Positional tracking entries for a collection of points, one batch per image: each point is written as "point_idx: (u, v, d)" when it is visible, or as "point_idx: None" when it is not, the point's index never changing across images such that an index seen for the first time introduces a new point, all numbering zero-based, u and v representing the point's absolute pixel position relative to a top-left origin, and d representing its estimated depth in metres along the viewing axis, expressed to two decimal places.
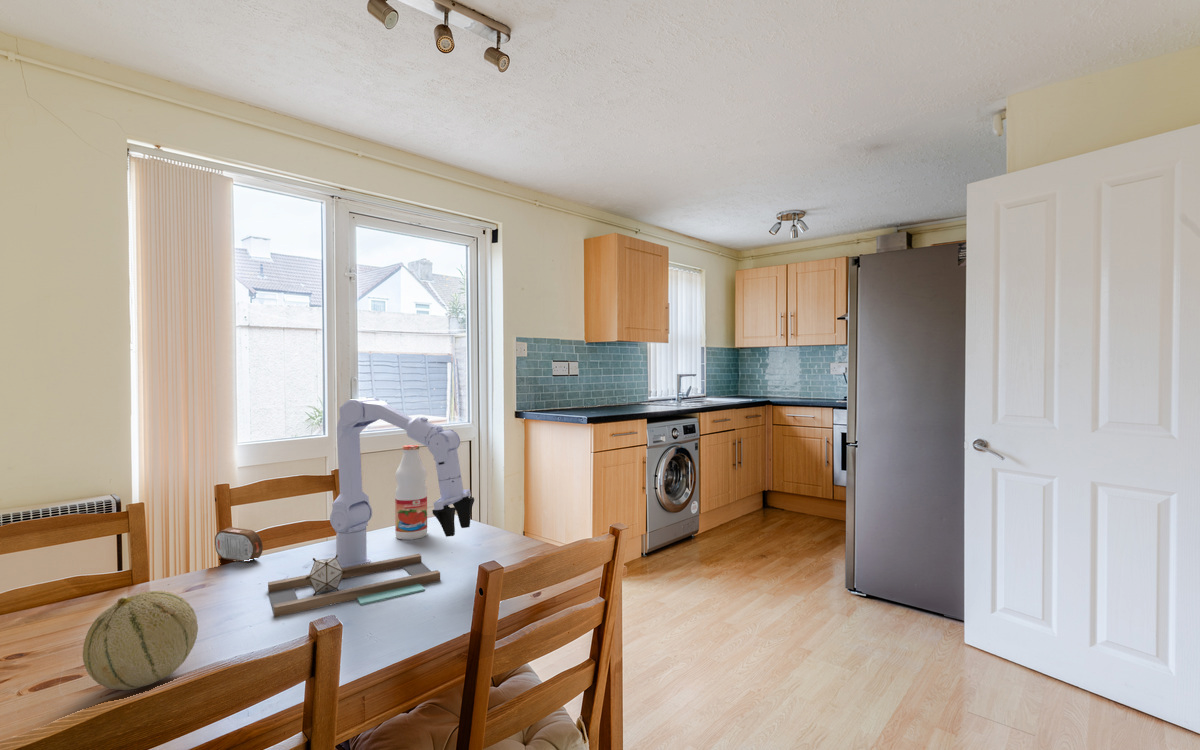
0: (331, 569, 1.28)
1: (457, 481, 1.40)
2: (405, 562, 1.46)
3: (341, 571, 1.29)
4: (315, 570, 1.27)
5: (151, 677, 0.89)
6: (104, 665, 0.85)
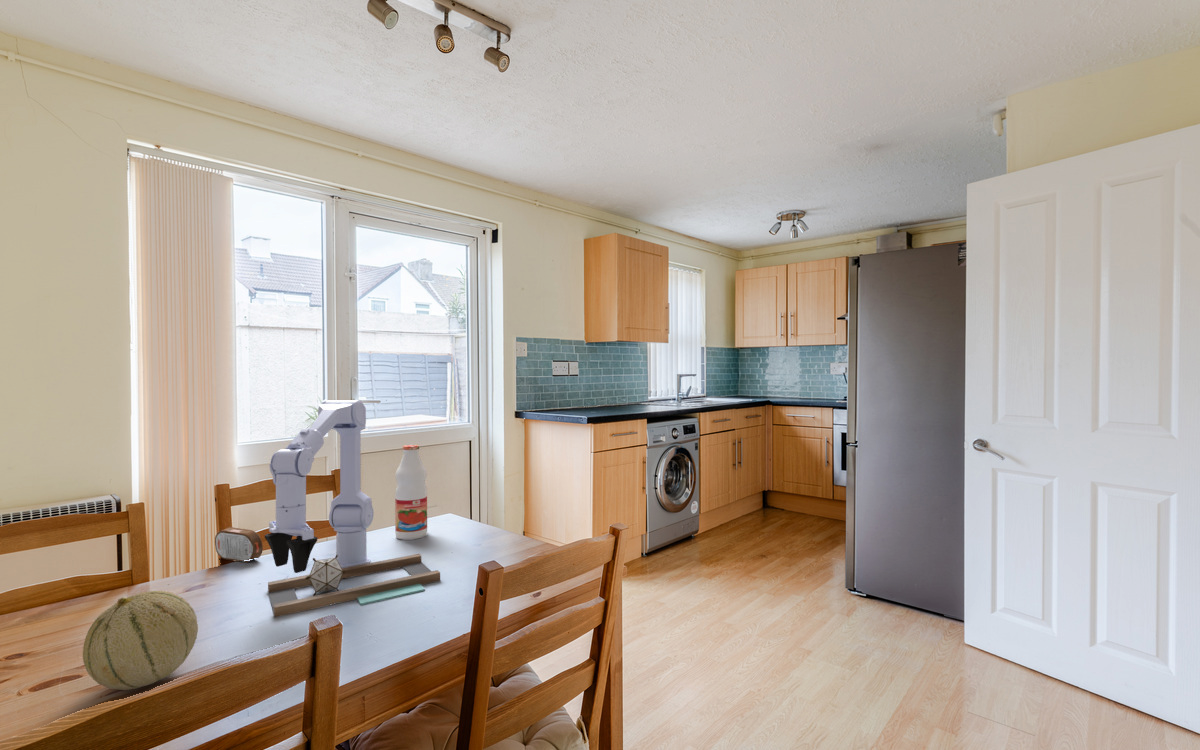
0: (331, 569, 1.28)
1: (276, 511, 1.19)
2: (405, 562, 1.46)
3: (341, 571, 1.29)
4: (315, 570, 1.27)
5: (151, 677, 0.89)
6: (104, 665, 0.85)
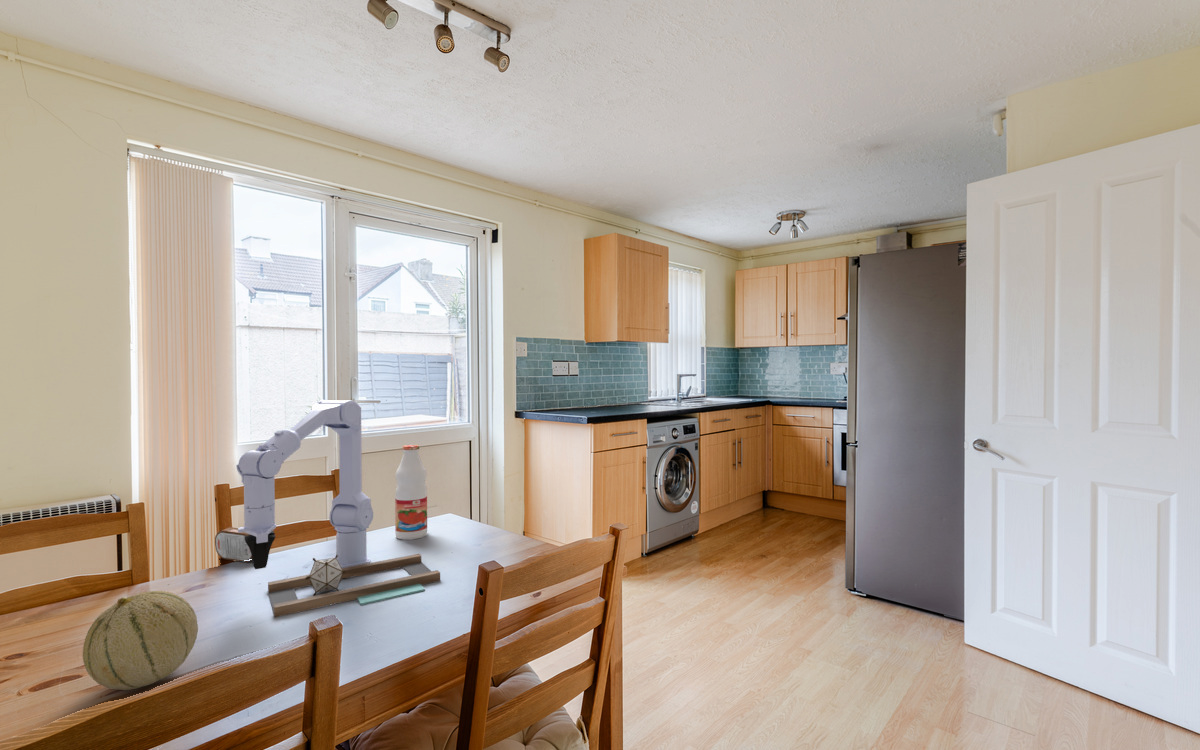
0: (331, 569, 1.28)
1: None
2: (405, 562, 1.46)
3: (341, 571, 1.29)
4: (315, 570, 1.27)
5: (151, 677, 0.89)
6: (104, 665, 0.85)
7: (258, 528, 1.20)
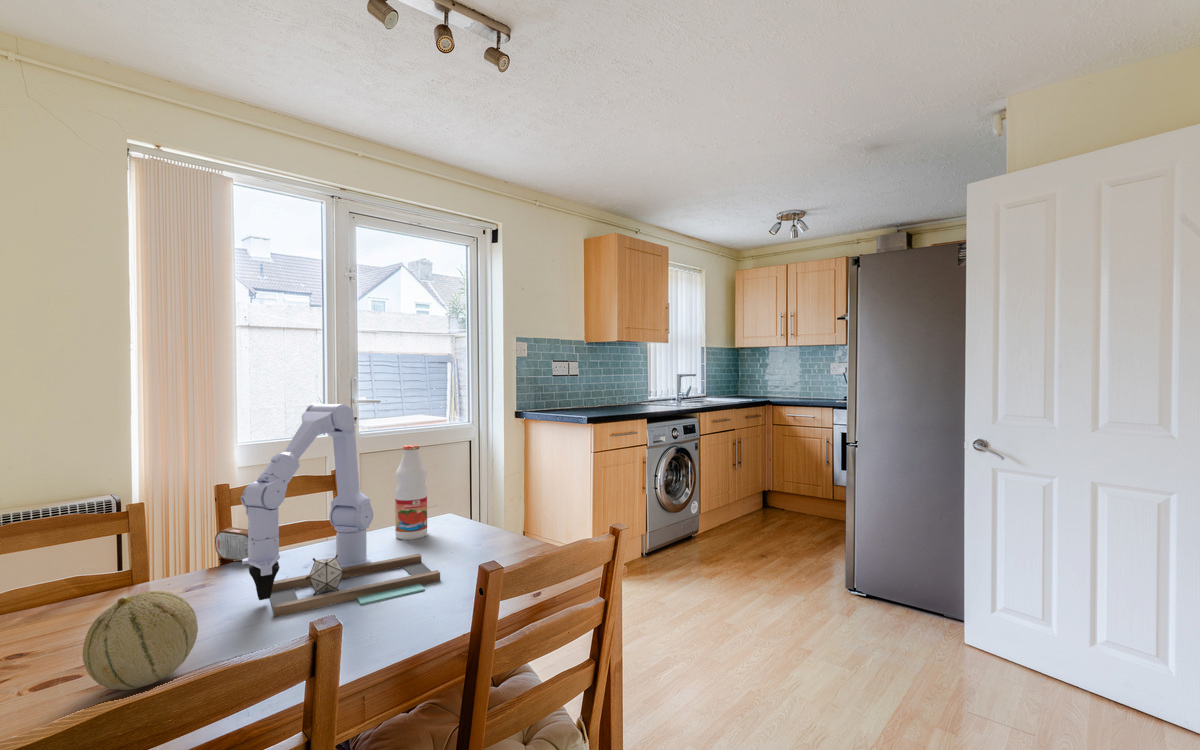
0: (331, 569, 1.28)
1: None
2: (405, 562, 1.46)
3: (341, 571, 1.29)
4: (315, 570, 1.27)
5: (151, 677, 0.89)
6: (104, 665, 0.85)
7: (262, 560, 1.20)
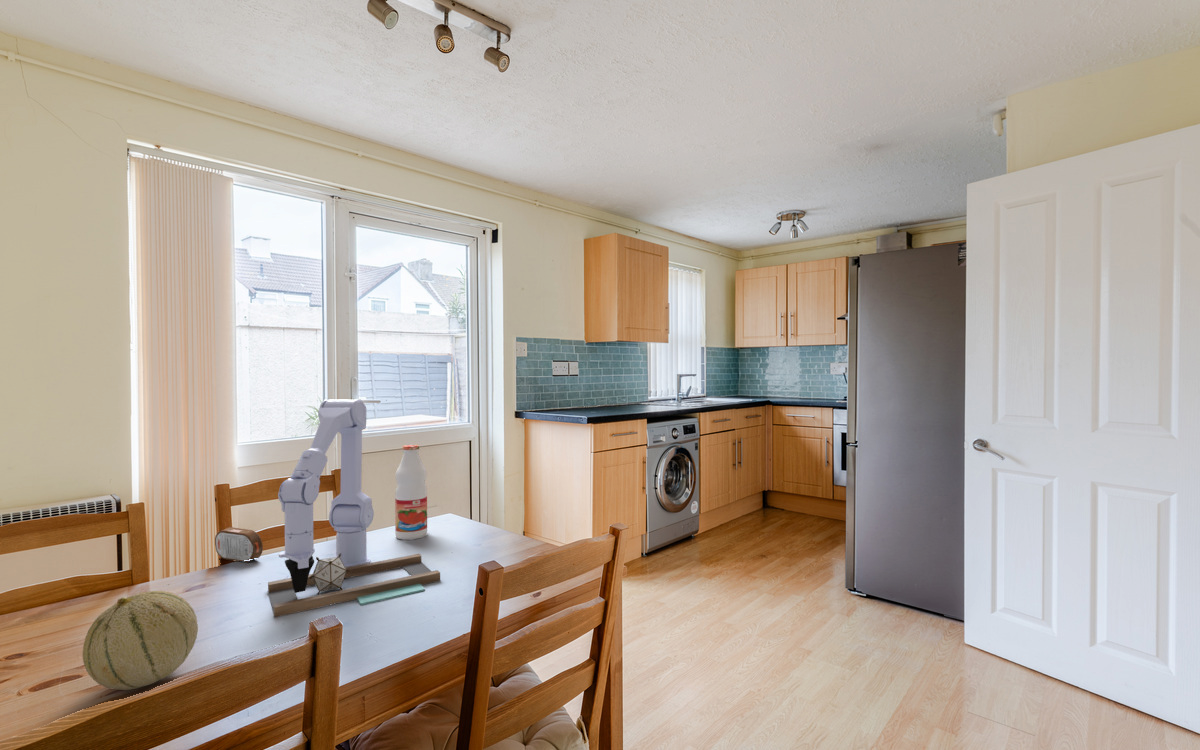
0: (335, 568, 1.28)
1: None
2: (405, 562, 1.46)
3: (345, 570, 1.30)
4: (319, 569, 1.28)
5: (151, 677, 0.89)
6: (104, 665, 0.85)
7: (298, 553, 1.24)
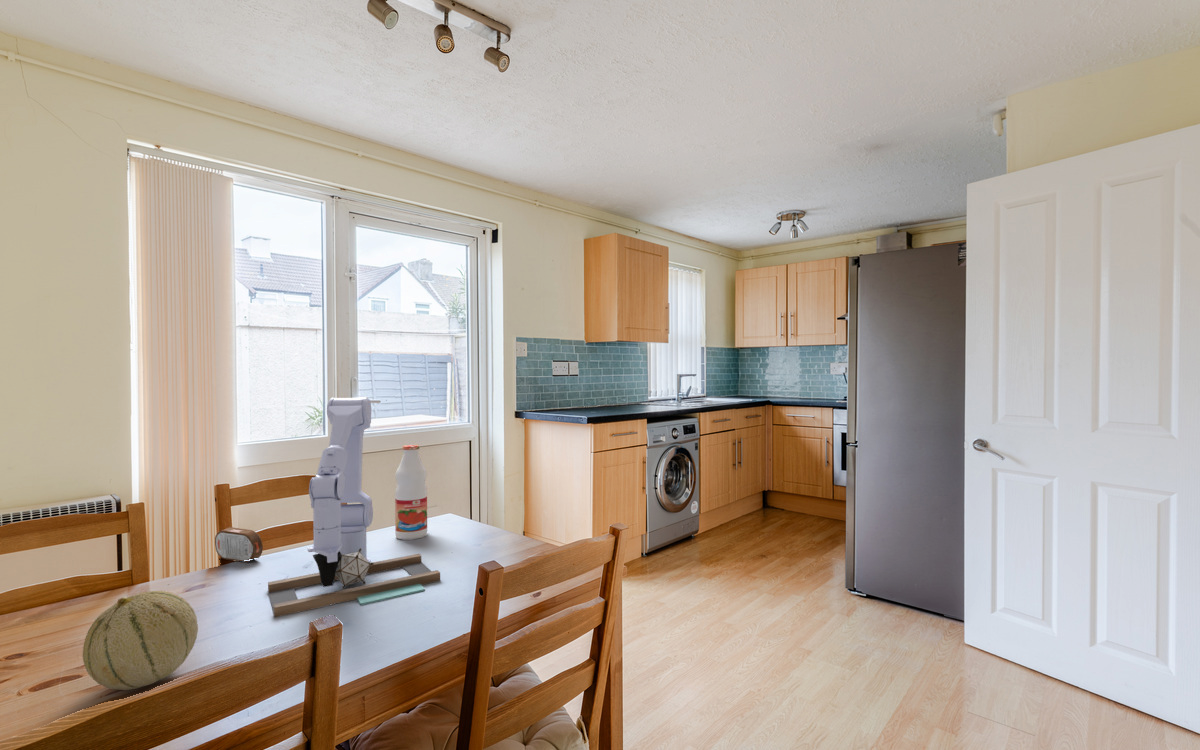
0: (360, 562, 1.32)
1: None
2: (405, 562, 1.46)
3: (369, 563, 1.34)
4: (346, 564, 1.31)
5: (151, 677, 0.89)
6: (104, 665, 0.85)
7: (327, 548, 1.27)
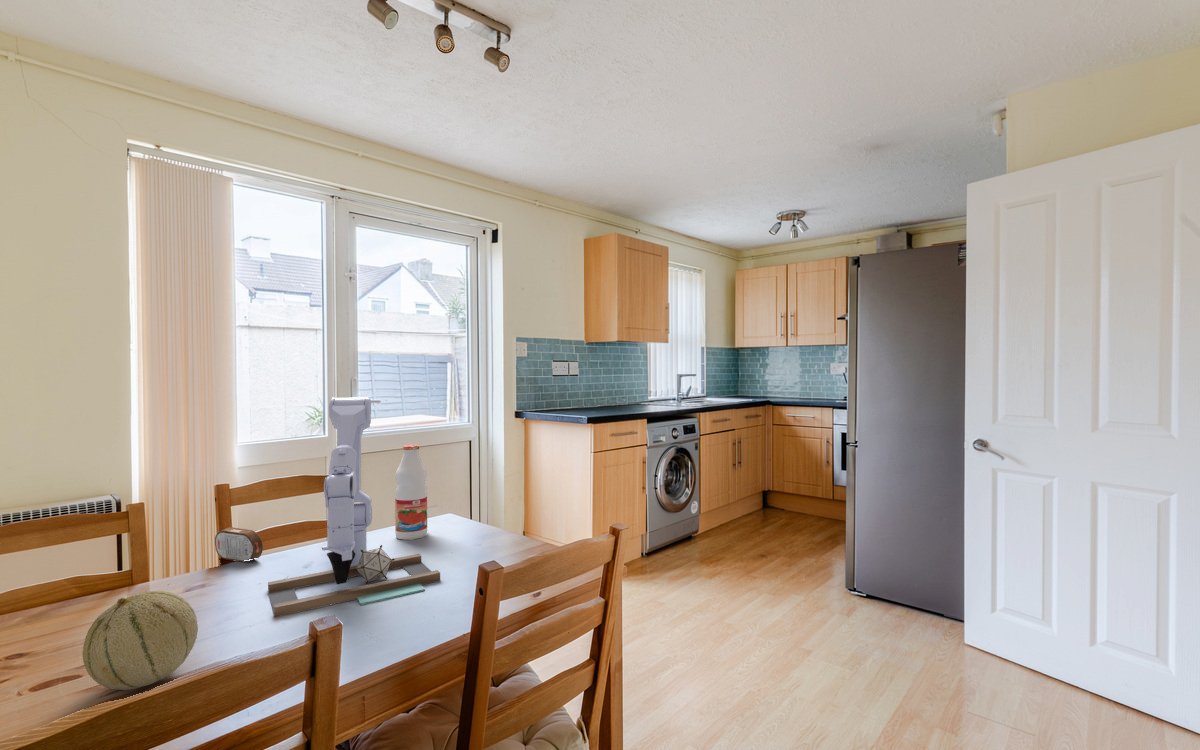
0: (382, 558, 1.35)
1: None
2: (405, 562, 1.46)
3: (390, 559, 1.37)
4: (368, 560, 1.34)
5: (151, 677, 0.89)
6: (104, 665, 0.85)
7: (341, 546, 1.29)
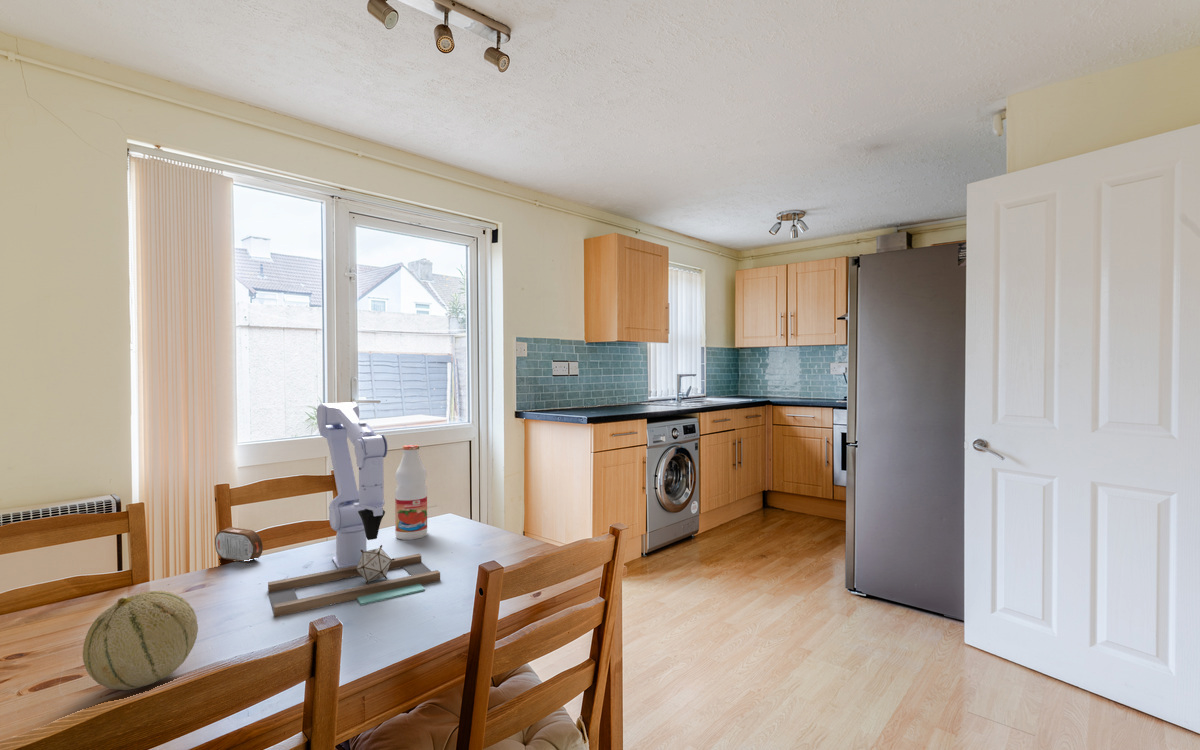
0: (382, 558, 1.35)
1: None
2: (405, 562, 1.46)
3: (390, 559, 1.37)
4: (368, 560, 1.34)
5: (151, 677, 0.89)
6: (104, 665, 0.85)
7: (372, 503, 1.37)
